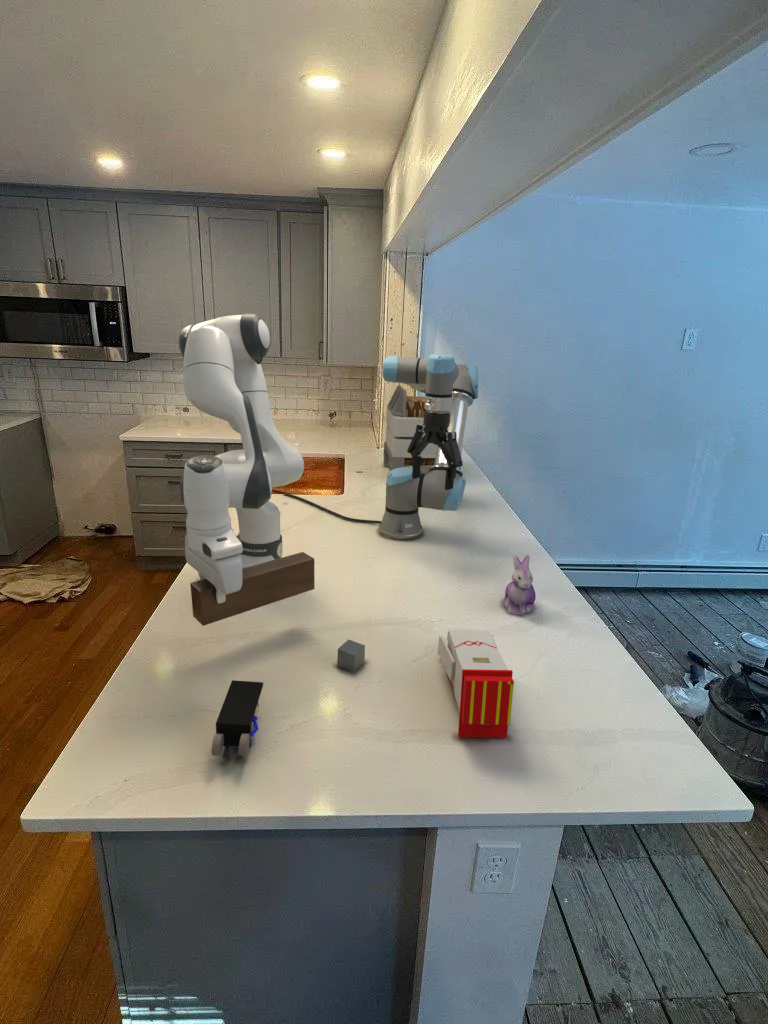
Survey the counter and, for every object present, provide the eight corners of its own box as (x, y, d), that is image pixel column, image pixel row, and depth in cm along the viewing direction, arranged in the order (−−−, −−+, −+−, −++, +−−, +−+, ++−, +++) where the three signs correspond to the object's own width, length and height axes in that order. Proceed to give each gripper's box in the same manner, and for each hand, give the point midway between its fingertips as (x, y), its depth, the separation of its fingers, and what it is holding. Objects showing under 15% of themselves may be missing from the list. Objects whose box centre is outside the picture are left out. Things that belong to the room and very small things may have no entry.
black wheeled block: (251, 773, 97) (266, 707, 110) (248, 742, 94) (264, 678, 107) (211, 773, 97) (231, 707, 110) (207, 741, 93) (228, 677, 107)
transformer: (382, 463, 289) (386, 382, 275) (445, 464, 293) (451, 384, 279) (390, 482, 257) (394, 392, 243) (460, 483, 261) (468, 394, 247)
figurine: (518, 619, 147) (525, 567, 142) (493, 601, 156) (499, 551, 151) (545, 612, 151) (553, 561, 146) (520, 595, 160) (527, 546, 155)
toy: (488, 613, 130) (523, 677, 101) (484, 667, 133) (517, 744, 104) (435, 612, 130) (455, 676, 101) (432, 666, 133) (451, 743, 103)
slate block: (337, 665, 125) (337, 648, 124) (348, 656, 129) (348, 639, 127) (354, 672, 123) (354, 654, 122) (364, 662, 127) (365, 645, 125)
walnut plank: (193, 616, 122) (190, 583, 119) (303, 581, 139) (302, 551, 137) (202, 626, 119) (199, 591, 116) (314, 589, 136) (314, 558, 133)
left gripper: (174, 524, 122) (180, 582, 127) (216, 555, 107) (220, 619, 112) (202, 518, 126) (207, 575, 130) (246, 547, 111) (249, 610, 116)
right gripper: (398, 405, 166) (394, 475, 174) (461, 419, 149) (454, 496, 156) (416, 403, 171) (412, 471, 178) (480, 417, 154) (472, 491, 161)
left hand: (213, 596), depth 121 cm, fingers closed on walnut plank, 5 cm apart
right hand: (432, 483), depth 167 cm, fingers open, 13 cm apart
